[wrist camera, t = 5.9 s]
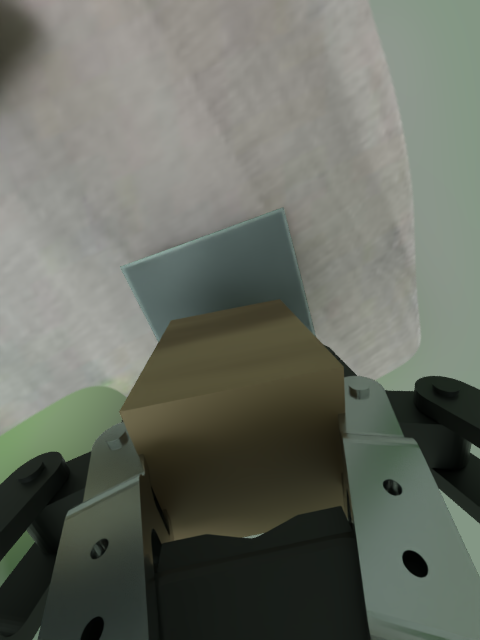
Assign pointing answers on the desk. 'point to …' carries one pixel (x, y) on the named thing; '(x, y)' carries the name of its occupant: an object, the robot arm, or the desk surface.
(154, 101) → the desk surface
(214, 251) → the grey-green square slab
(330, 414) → the brass block
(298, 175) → the desk surface
